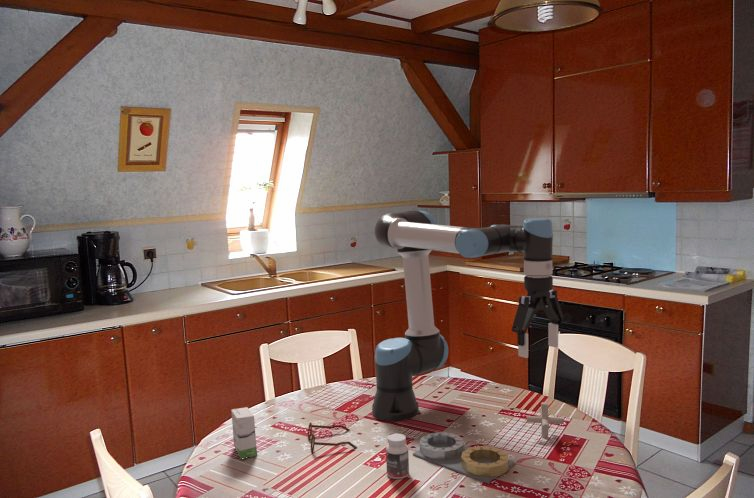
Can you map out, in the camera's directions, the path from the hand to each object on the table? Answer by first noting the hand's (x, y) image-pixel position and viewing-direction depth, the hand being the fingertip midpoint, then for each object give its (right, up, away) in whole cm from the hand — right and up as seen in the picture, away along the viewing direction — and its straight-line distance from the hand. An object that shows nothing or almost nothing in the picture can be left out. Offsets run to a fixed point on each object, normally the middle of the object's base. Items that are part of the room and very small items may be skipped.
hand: (538, 351), depth 163 cm
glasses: (-58, -28, +9) cm, 65 cm away
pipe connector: (+4, -26, +6) cm, 27 cm away
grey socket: (-27, -28, 0) cm, 38 cm away
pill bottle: (-39, -30, -12) cm, 50 cm away
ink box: (-82, -30, +5) cm, 87 cm away
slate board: (-22, -28, -5) cm, 36 cm away
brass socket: (-17, -28, -10) cm, 34 cm away
